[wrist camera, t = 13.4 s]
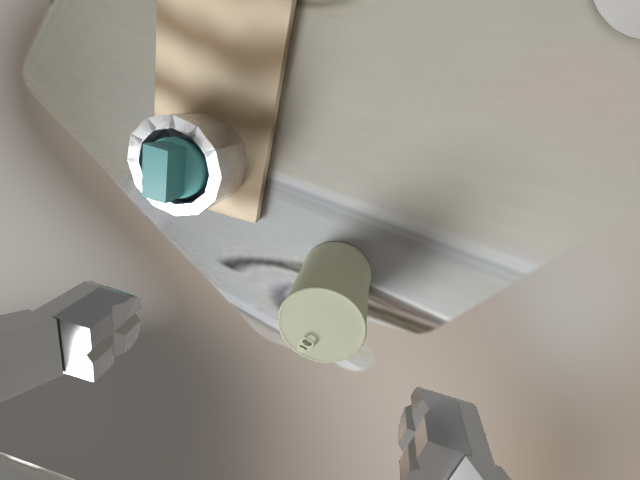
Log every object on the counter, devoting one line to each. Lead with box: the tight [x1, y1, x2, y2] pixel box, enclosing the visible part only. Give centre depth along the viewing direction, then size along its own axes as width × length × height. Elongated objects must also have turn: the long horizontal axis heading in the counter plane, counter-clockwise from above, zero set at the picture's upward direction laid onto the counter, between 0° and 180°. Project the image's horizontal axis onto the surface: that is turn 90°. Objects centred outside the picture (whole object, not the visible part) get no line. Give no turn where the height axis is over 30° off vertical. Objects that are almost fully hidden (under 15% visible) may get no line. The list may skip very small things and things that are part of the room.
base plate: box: [154, 0, 297, 223], centre depth 37 cm, size 25×14×2 cm, turn 166°
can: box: [278, 242, 372, 363], centre depth 38 cm, size 9×9×12 cm
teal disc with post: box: [142, 136, 209, 204], centre depth 32 cm, size 6×6×4 cm
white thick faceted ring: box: [127, 112, 249, 216], centre depth 36 cm, size 10×10×7 cm
